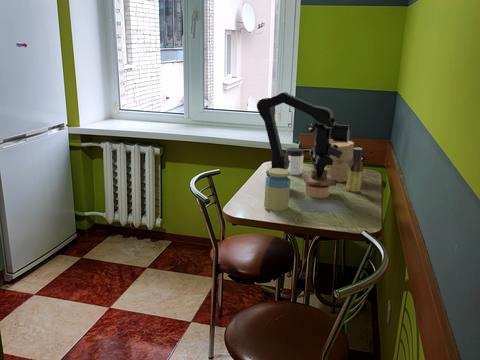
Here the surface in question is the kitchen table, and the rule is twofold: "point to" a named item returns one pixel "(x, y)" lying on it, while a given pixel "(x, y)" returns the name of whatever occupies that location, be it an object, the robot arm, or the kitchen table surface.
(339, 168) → the container
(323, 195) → the terracotta bowl
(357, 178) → the sauce bottle
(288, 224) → the kitchen table surface
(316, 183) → the walnut cover
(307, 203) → the charcoal mat
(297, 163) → the jar
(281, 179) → the jar
